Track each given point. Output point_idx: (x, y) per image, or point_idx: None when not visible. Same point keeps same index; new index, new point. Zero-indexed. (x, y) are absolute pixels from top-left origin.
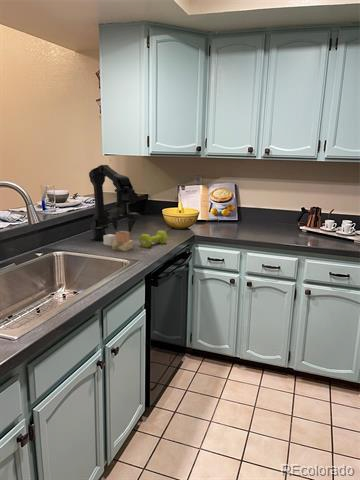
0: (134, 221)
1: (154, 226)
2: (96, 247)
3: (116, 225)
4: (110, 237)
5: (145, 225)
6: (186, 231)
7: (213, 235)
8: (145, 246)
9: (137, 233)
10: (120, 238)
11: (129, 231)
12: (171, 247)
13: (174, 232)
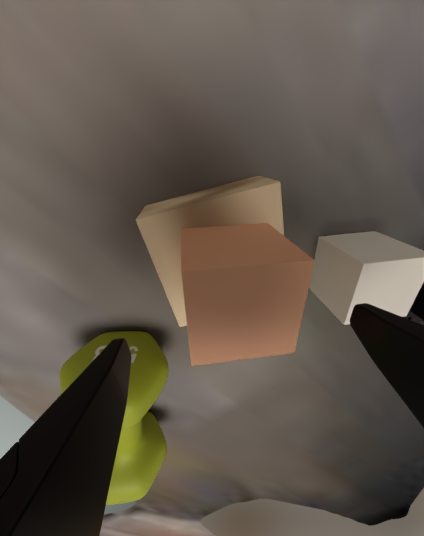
0: None
1: (314, 487)
2: (388, 129)
3: (399, 373)
4: (359, 260)
5: (345, 480)
6: (194, 511)
7: None
8: (106, 334)
9: (318, 432)
10: (217, 239)
11: (107, 345)
12: (28, 406)
13: (215, 493)
